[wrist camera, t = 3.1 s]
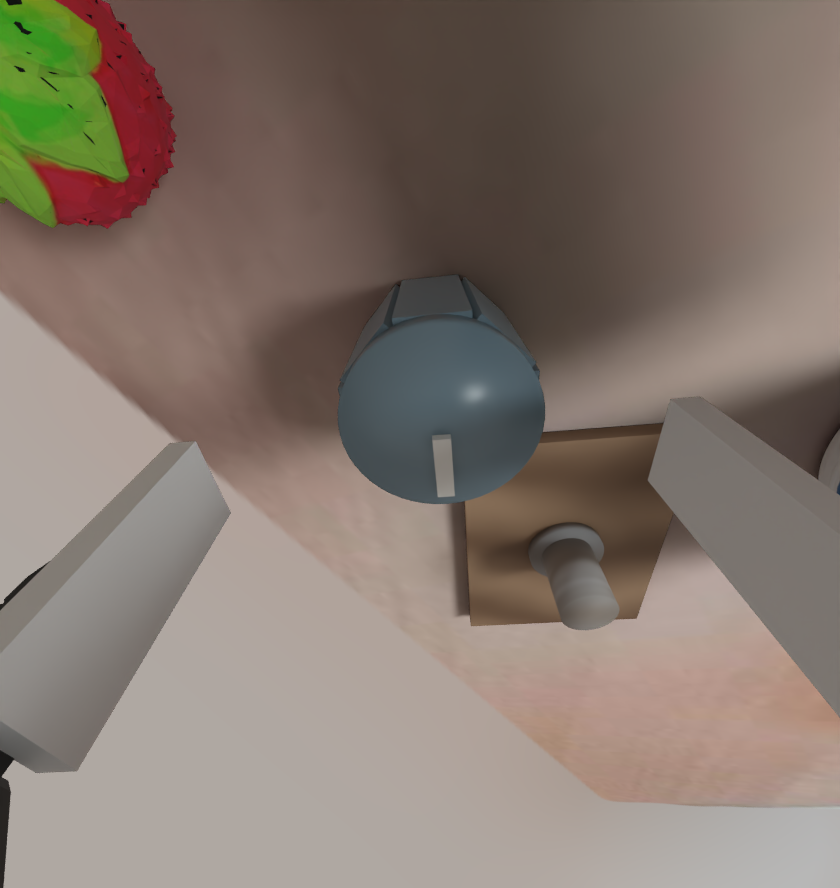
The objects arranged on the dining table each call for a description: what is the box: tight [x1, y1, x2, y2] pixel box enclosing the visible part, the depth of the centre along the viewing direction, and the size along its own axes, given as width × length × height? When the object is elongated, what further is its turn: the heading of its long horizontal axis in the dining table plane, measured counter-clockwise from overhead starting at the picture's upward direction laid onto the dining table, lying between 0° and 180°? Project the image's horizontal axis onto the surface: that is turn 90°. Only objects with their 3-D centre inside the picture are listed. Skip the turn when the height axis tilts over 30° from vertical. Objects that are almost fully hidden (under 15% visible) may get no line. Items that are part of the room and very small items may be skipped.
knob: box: [338, 275, 545, 504], centre depth 15 cm, size 7×7×7 cm
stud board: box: [464, 423, 674, 630], centre depth 23 cm, size 16×12×6 cm
